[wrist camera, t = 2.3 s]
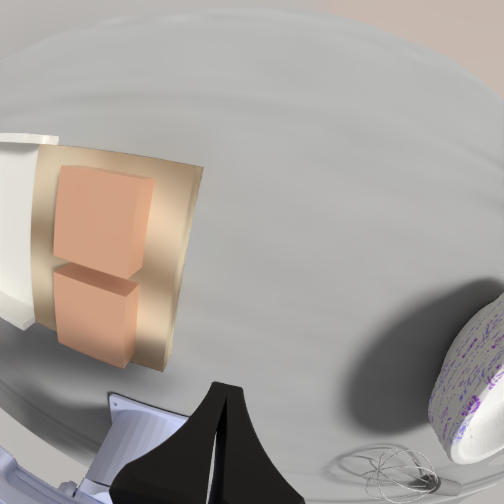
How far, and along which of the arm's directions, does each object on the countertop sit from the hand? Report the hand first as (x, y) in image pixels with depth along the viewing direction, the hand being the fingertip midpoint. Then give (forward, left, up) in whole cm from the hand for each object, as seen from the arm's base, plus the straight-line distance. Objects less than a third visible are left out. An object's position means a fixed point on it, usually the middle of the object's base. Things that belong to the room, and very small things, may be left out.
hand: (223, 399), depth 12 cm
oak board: (+3, +10, -7) cm, 12 cm away
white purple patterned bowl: (+1, -22, -7) cm, 23 cm away
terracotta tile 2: (+6, +9, -5) cm, 11 cm away
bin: (+3, +21, -7) cm, 22 cm away
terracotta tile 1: (0, +9, -5) cm, 10 cm away
